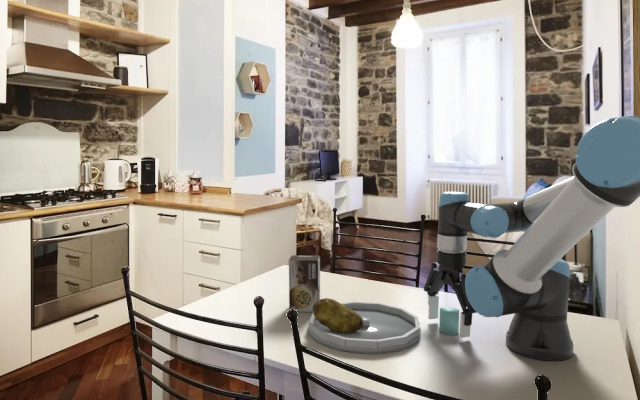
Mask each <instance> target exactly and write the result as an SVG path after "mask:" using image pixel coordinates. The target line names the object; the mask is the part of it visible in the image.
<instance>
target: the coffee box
mask: <svg viewBox="0 0 640 400" xmlns="http://www.w3.org/2000/svg"><path fill="white" fill-rule="evenodd" d="M288 291H289V292H288V304H289V305H288V308H289V309H295V310H297V311H298V312H300V313H313V305H314V304H315V303H316V302H317V301H319V300H321V256H320V255H306V254H305V255H302V254H300V255H299V254H298V255H297V254H292V255H291V256H290V257H289V259H288ZM289 309H288V310H289Z"/></svg>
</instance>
